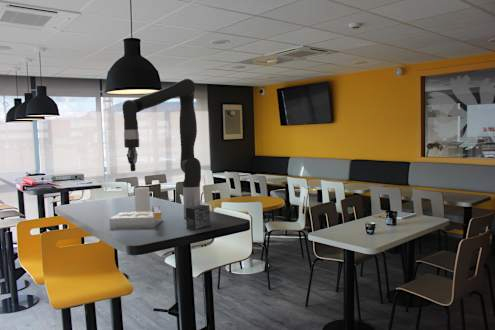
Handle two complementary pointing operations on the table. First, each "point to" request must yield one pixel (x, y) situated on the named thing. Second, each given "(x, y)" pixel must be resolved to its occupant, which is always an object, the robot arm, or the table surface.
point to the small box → (198, 217)
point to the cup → (142, 199)
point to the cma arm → (156, 212)
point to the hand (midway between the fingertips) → (133, 171)
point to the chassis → (134, 220)
